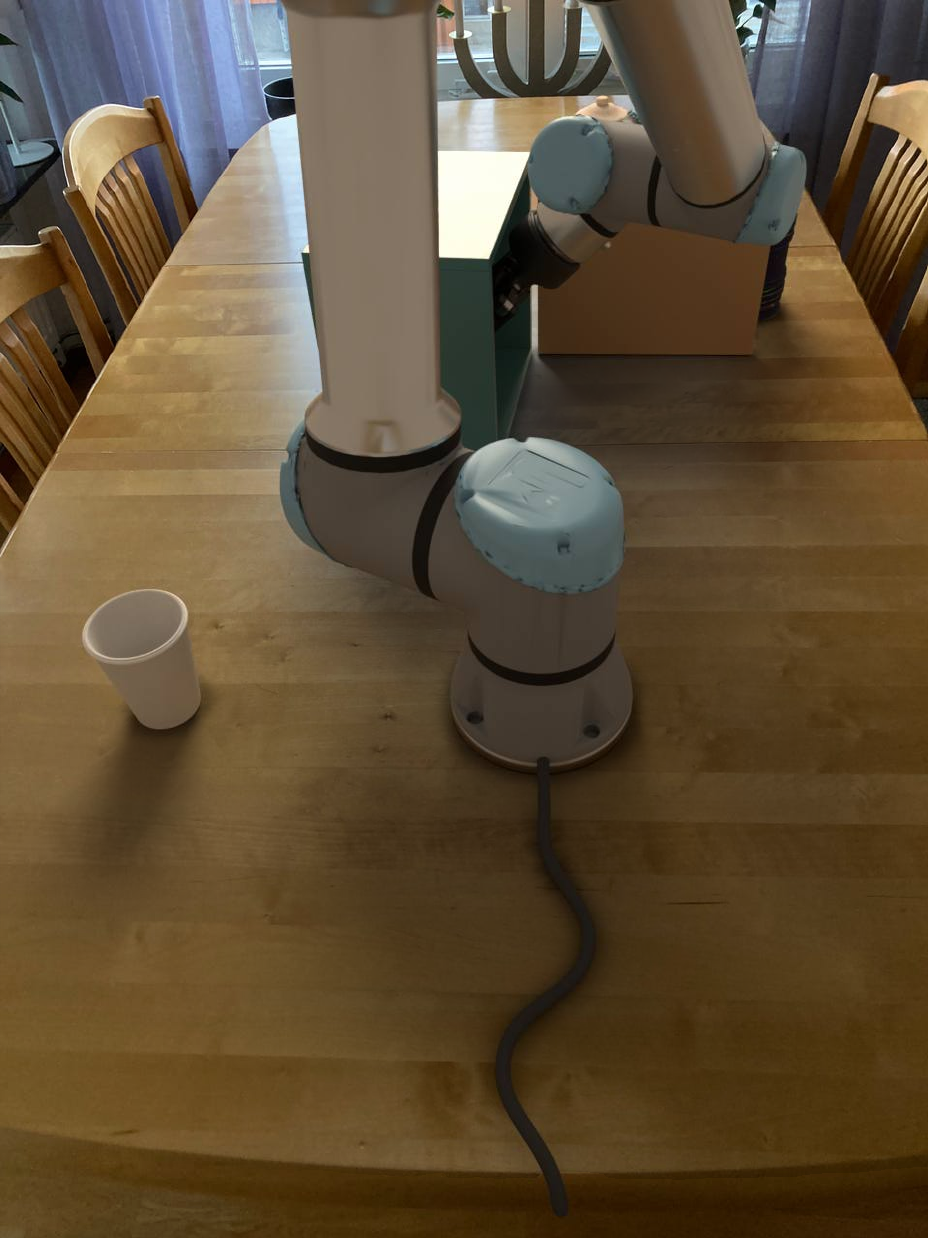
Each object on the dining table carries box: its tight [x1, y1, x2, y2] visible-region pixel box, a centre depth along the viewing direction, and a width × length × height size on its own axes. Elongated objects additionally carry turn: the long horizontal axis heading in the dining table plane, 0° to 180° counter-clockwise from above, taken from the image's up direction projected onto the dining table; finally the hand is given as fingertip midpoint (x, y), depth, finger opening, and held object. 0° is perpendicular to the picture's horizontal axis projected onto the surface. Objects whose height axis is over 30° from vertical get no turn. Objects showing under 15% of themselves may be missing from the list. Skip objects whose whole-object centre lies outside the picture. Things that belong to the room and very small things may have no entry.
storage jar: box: [757, 212, 798, 323], centre depth 123 cm, size 10×10×15 cm
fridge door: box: [537, 198, 770, 356], centre depth 115 cm, size 7×26×24 cm, turn 84°
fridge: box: [300, 150, 533, 451], centre depth 107 cm, size 18×26×24 cm
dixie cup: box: [81, 588, 202, 730], centre depth 81 cm, size 8×8×10 cm
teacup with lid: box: [574, 95, 629, 121], centre depth 159 cm, size 12×9×12 cm
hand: (419, 368), depth 113 cm, fingers closed on canned food, 8 cm apart
